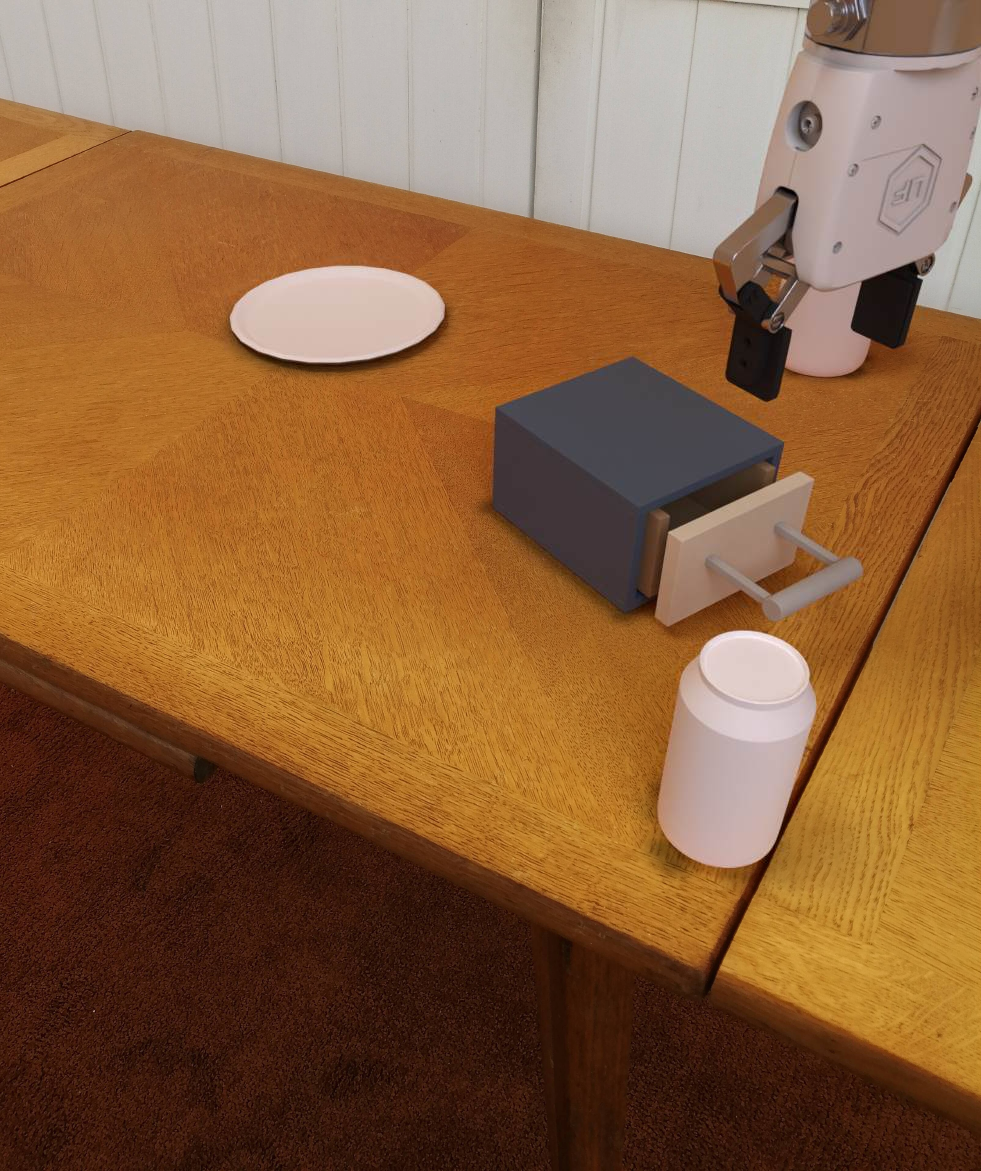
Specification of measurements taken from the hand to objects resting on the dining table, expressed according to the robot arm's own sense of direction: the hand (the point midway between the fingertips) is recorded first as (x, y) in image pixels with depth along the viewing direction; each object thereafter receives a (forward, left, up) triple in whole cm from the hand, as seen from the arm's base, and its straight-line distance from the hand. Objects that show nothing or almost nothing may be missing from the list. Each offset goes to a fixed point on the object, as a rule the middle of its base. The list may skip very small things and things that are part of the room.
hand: (815, 363), depth 58 cm
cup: (+23, -30, -18) cm, 42 cm away
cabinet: (+12, 0, -18) cm, 22 cm away
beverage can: (-11, +14, -18) cm, 26 cm away
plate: (+53, 0, -18) cm, 57 cm away
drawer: (+5, 0, -17) cm, 18 cm away
